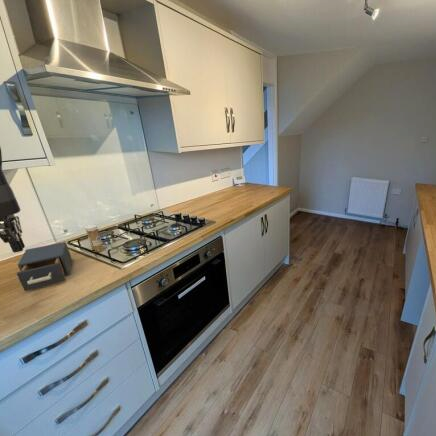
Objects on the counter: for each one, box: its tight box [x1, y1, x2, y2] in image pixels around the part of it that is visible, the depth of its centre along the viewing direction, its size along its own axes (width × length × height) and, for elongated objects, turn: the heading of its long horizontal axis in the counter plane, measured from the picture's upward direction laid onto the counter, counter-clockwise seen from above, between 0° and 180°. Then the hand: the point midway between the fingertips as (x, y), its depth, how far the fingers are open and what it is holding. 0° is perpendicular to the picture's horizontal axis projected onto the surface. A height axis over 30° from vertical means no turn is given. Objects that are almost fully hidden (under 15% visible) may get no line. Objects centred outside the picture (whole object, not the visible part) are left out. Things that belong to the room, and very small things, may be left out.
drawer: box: [16, 257, 67, 292], centre depth 94 cm, size 18×11×8 cm, turn 37°
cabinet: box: [17, 241, 73, 277], centre depth 100 cm, size 15×13×10 cm
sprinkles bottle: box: [84, 224, 104, 253], centre depth 118 cm, size 5×5×13 cm
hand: (19, 249), depth 78 cm, fingers closed
